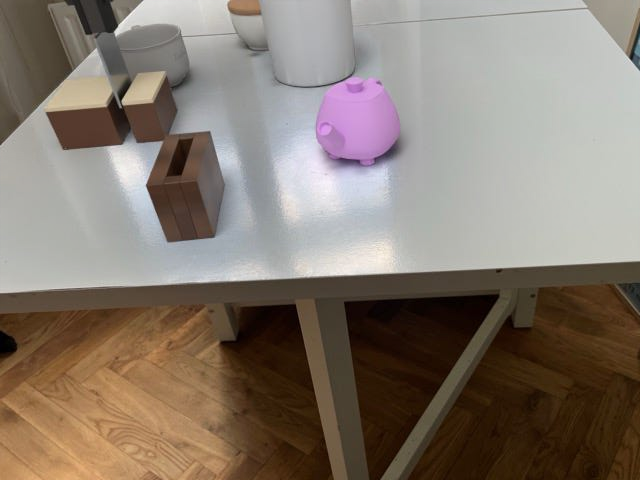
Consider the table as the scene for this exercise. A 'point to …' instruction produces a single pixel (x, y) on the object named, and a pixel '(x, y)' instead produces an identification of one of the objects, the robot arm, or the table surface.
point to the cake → (87, 114)
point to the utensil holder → (309, 40)
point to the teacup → (155, 51)
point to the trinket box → (248, 23)
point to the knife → (108, 51)
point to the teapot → (357, 120)
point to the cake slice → (150, 106)
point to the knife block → (187, 186)
